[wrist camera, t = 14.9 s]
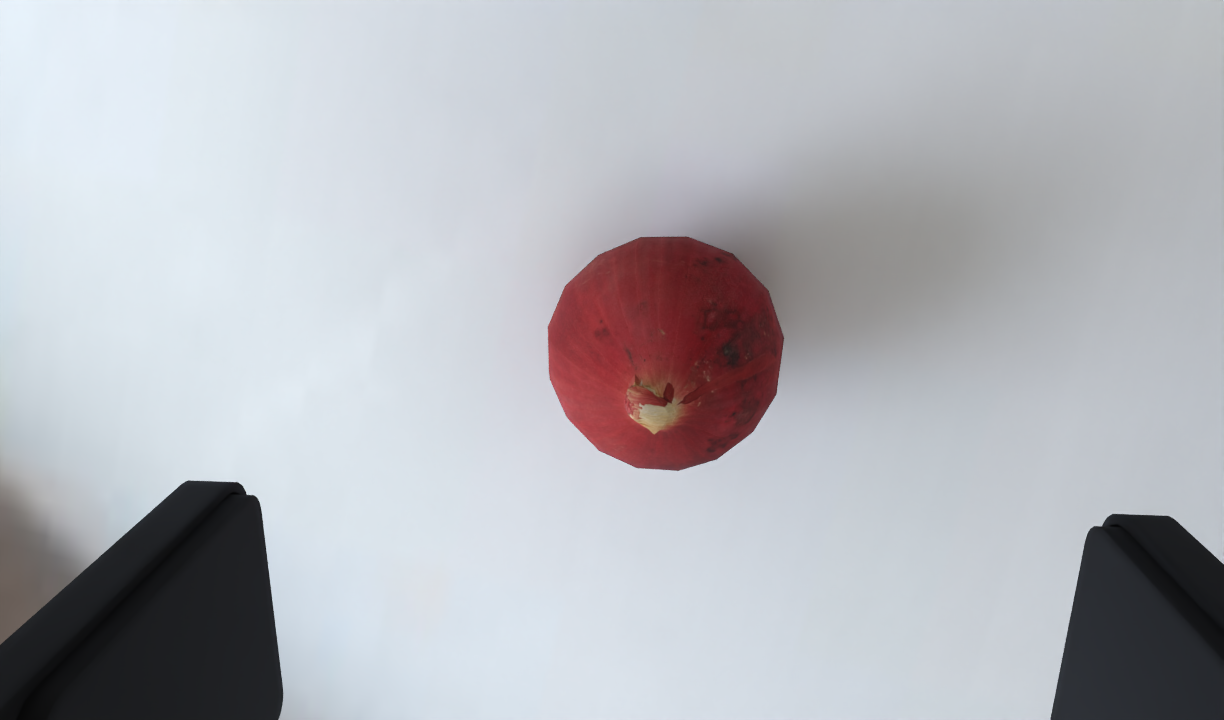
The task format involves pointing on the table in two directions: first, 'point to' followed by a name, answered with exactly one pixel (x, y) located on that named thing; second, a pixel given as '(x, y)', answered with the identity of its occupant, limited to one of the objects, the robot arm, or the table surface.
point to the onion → (665, 352)
